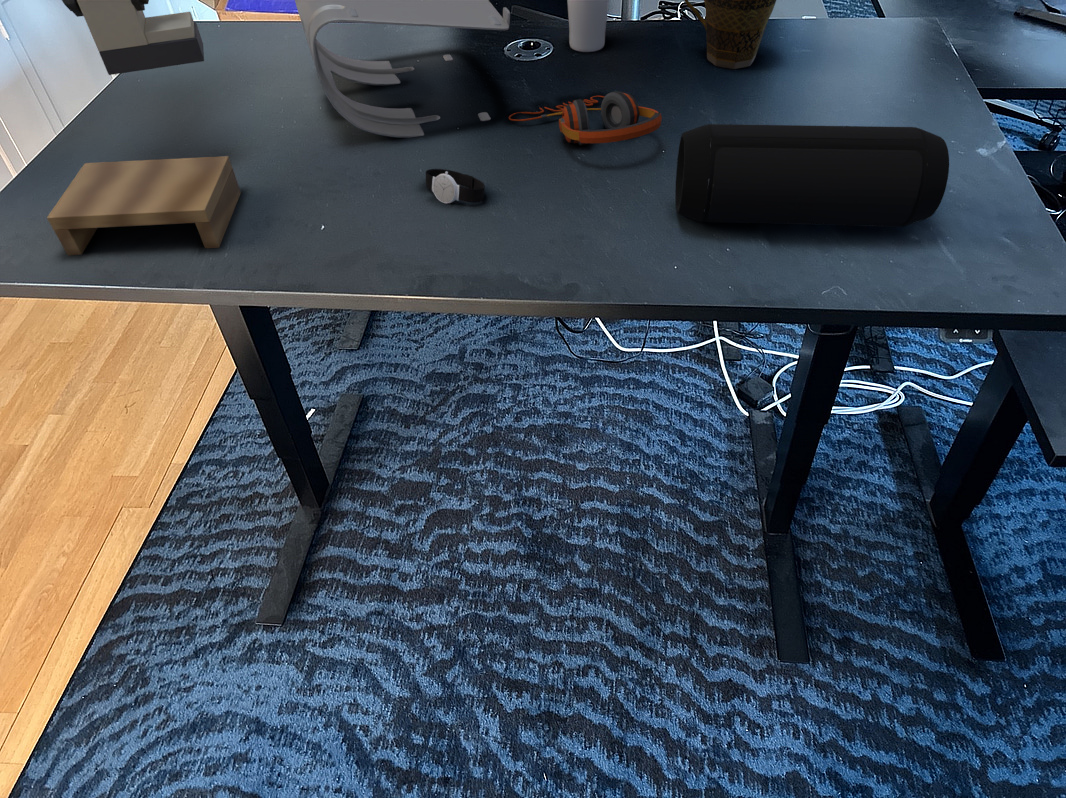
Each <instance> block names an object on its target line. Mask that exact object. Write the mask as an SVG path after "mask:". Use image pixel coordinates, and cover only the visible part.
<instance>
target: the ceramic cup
mask: <svg viewBox="0 0 1066 798" xmlns="http://www.w3.org/2000/svg"><path fill="white" fill-rule="evenodd" d="M703 2H704V7H705V8H704V9H705V19H704V18H703V17H702V16H701V13H700V12H699V11H698V10H697V9H696V7H694V5H692V3H690V1H689V0H684V3H685V4H686V6H687V7H688V8H689V9H690V10H691V11H692V13H694V14H695V16H696V17H697V19H698V20H699V22H700V23H701V24H702V25H703V28H704V30H705V32H706V33H705V34H706V35H705V37H706V59H707V61H709V62H710V63H711V64H713V65H714V66H715V67H719V68H723V69H729V70H737V69H738V70H739V69H742V68H747V67H751V65H752V64H753V63H754V61H755V59H756V56H757V53H758V51H759V48H760V45H761V42H762V39H763V36H764V34H765V30H766V28H767V24H768V22H769V20H770V17H771V15H772V14H773V11H774V8H775V5H776V2H777V0H703Z"/></svg>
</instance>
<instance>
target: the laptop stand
mask: <svg viewBox="0 0 1066 798" xmlns="http://www.w3.org/2000/svg"><path fill="white" fill-rule="evenodd" d="M294 2H295V6H296V9H297V13H298V16H299V19H300V23H301V26H302V29H303V32H304V35H305V38H306V41H307V46H308V48H309V51H310V55H311V58H312V61H313V65H314V67H315V71H316V74H317V77H318V80H319V83H320V85H321V88H322V90H323V92H324V94H325V96H326V98H327V99H328V102H329V103H330V104H331V105H332V107H333V109H335V111H336V112H338V114H339V115H340V116H341V117H343V118H344V119H345V120H346V121H347V122H349V123H350V124H351V125H353V126H354V127H356V128H357V129H359V130H362V131H364V132H367V133H371V134H375V135H379V136H385V137H390V138H407V139H409V138H416V137H422V136H425V133H424V130H423V128H422V127H421V125H420V124H423V123H430V122H435V121H439V120H440V119H441V116H440V115H437V114H434V115H427V116H422V117H416V115H415V112H414V110H413V108H411V107H405V108H401V107H400V108H392V107H391V108H390V107H389V108H388V107H380V106H374V105H370V104H366V103H363V102H358V101H356V100H353V99H352V98H351V99H350V98H349V97H348V96H346V95H345V94H344V93H342V92H341V91H340V90H339V89H338V88H337V86H336V83H335V80H334V77H333V75H335V76H336V77H338V78H340V79H344V80H346V81H348V82H353V83H356V84H357V83H358V84H362V85H367V86H368V85H369V86H374V87H375V86H378V87H381V86H382V87H383V86H385V87H388V86H392V85H393V86H394V85H398V84H401V80H400V79H399V77H397V75H396V74H401V73H408V72H412V71H414V70H415V67H414V66H404V67H398V68H393V67H392V65H391V62H390V61H389V60H378V61H377V60H361V59H356V58H355V59H354V58H351V57H346V56H343V55H339V54H337V53H334V52H333V51H331V50H329V49H328V48H326V46H324V45H323V44H322V43H321V42H320V41H319V40H318V39H317V35H318V33H319V31H320V30H321V29H322V28H323V27H324V26H327V25H329V24H332V23H355V24H371V25H372V24H373V25H392V26H411V27H429V28H430V27H432V28H449V29H451V28H452V29H468V30H485V31H486V30H487V31H508V30H509V29H510V22H511V12H510V10H509V9H508V8H507V7H506V6H505V7H503V8H502V15H501V14H500V13H499V12H498V10H497V9H496V8H495V6H494V5H493V4H492V3H491V1H490V0H294ZM442 57H443V59H444V60H445V62H450V61H453V60H454V57H452V55H451V54H444V55H442ZM477 117H478V119H479V120H480V121H481V122H487V121H490V120H491V119H492V118H491V117H490V115H489V113H488V112H486V111H484V112H479V113H478V114H477Z"/></svg>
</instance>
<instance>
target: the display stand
mask: <svg viewBox="0 0 1066 798" xmlns="http://www.w3.org/2000/svg"><path fill="white" fill-rule="evenodd" d="M241 193H242V191H241V189H240V185H239V183H238V180H237V177H236V173H235V171H234V168H233V165H232V162H231V159H230V156H229V155H222V156H203V157H200V156H199V157H183V158H180V157H179V158H164V159H161V158H159V159H141V160H121V161H102V162H101V161H98V162H97V161H96V162H84V163H83V165H82V167H81V168H80V169H79V170H78V172H77V173H76V175H75V177H74V178H73V179H72V181H71V182H70V184H69V185H68V187H67V188H66V189H65V190H64V192H63V193H62V194H61V197H60V198H59V199H58V201H57V202H56V204H55V205H54V206H53V208H52V209H51V211H50V212H49V214H48V215H47V217H46V219H47V221H48V224H50V226H51V228H52V230H53V232H54V234H55V235H56V237H57V239H58V241H59V242H60V245H61V247H62V248H63V249H64V251H65V254H66V255H67V256H79V255H80V256H81V255H82V254H83V253H84V251H85V250H86V248H87V247H88V245H89V243H90V242H91V240H92V238H93V236H94V235H95V233H96V232H97V230H98V229H99V228H117V227H118V228H121V227H137V226H138V227H139V226H140V227H141V226H158V225H159V226H160V225H161V226H162V225H179V224H195V226H196V229H197V231H198V234H199V236H200V239H201V242H202V244H203V246H204V249H218V248H220V246H221V244H222V241H223V239H224V237H225V234H226V232H227V230H228V226H229V224H230V221H231V219H232V216H233V214H234V212H235V209H236V206H237V204H238V201H239V199H240V196H241Z"/></svg>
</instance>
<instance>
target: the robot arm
mask: <svg viewBox="0 0 1066 798" xmlns="http://www.w3.org/2000/svg"><path fill="white" fill-rule="evenodd" d="M61 1H62V4H63V5H64V6H65V7H66V8H67V9H68V10H69V11H70V12H72V13H73V14H74V15H75V16H76V17H78V18H79V17H84V16H83V13H82V11H81V9H80V6H79V4H78V2H77V0H61ZM149 2H150V0H131V3H132V5H134V7H135V8H136V10H137V11H143V12H144V11H146V8H145V7H146V6H145V5H149Z"/></svg>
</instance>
